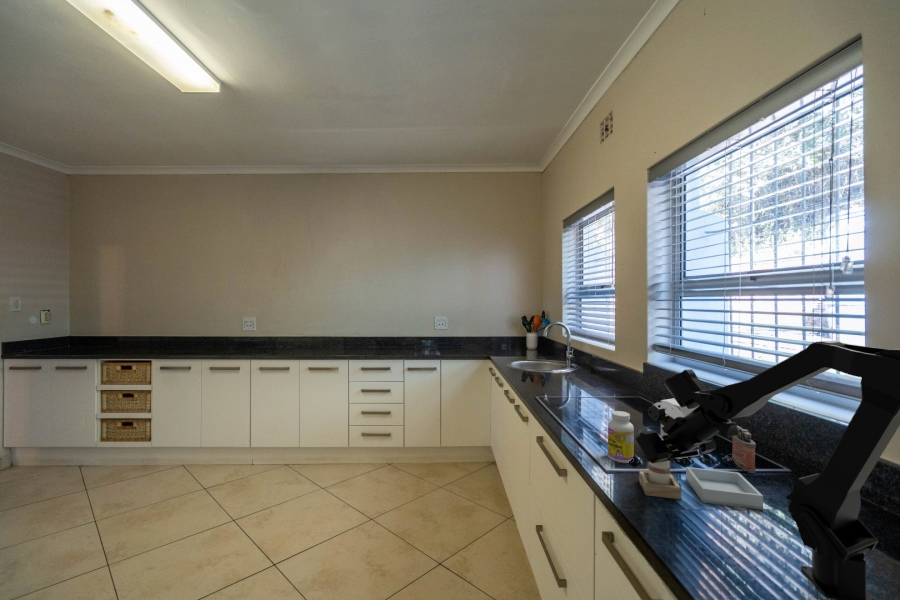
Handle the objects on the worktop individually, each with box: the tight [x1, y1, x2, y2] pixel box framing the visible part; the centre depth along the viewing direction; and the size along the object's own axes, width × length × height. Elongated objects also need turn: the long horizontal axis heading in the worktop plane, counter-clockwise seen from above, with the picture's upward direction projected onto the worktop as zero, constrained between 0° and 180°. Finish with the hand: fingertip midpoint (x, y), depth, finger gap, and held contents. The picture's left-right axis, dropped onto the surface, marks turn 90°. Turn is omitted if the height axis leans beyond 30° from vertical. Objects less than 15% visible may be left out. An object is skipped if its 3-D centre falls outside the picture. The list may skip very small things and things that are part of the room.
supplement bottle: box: [607, 410, 635, 464], centre depth 106 cm, size 7×7×13 cm
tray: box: [685, 466, 764, 511], centre depth 87 cm, size 11×11×3 cm
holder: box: [638, 469, 682, 500], centre depth 89 cm, size 7×7×2 cm
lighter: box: [731, 425, 757, 474], centre depth 102 cm, size 8×3×10 cm, turn 168°
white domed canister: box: [648, 455, 671, 485], centre depth 89 cm, size 4×4×10 cm
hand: (654, 458), depth 90 cm, fingers closed on white domed canister, 4 cm apart
